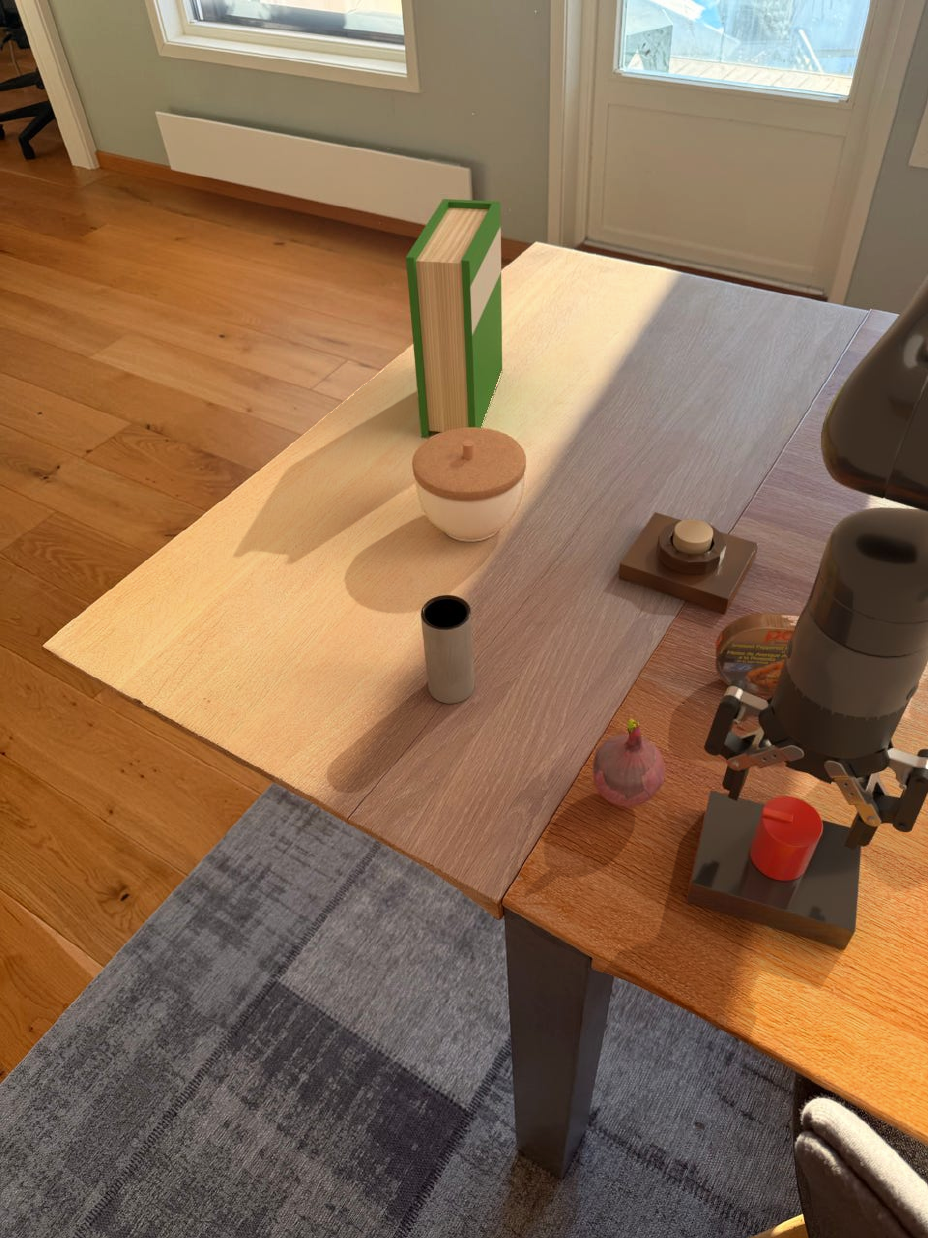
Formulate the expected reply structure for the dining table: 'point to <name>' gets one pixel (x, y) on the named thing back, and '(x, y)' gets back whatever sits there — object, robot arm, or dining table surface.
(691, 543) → the button
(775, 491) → the dining table surface
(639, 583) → the button housing
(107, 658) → the dining table surface
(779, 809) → the dial knob
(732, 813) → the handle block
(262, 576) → the dining table surface
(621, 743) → the vegetable
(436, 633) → the planter
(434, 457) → the lidded bowl
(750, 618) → the tin
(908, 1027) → the dining table surface
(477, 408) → the hardback book
